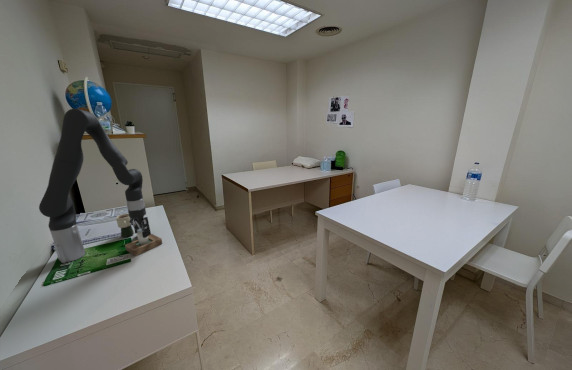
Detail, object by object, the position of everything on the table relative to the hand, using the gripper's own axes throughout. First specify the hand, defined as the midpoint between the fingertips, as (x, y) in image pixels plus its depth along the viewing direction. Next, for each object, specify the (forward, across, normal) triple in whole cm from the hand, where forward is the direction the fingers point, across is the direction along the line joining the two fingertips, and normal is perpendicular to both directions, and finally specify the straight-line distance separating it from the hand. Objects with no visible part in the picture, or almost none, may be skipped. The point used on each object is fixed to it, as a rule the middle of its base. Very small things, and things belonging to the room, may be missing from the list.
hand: (141, 235), depth 114 cm
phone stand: (+8, -12, +6) cm, 16 cm away
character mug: (+8, -22, +1) cm, 24 cm away
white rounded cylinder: (+5, 0, 0) cm, 5 cm away
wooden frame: (+8, 0, 0) cm, 8 cm away
